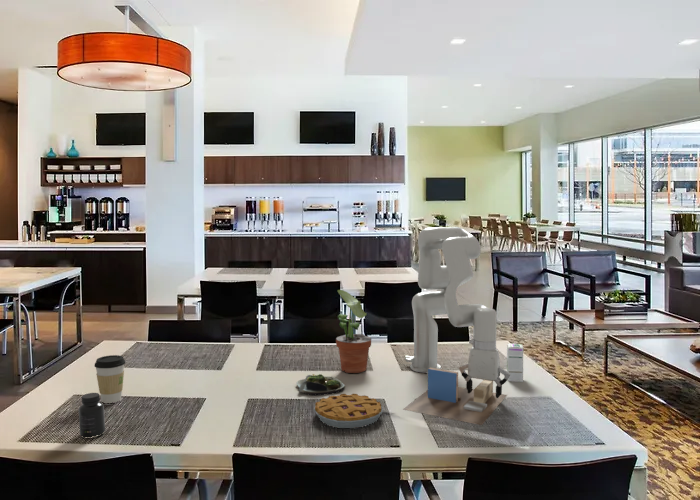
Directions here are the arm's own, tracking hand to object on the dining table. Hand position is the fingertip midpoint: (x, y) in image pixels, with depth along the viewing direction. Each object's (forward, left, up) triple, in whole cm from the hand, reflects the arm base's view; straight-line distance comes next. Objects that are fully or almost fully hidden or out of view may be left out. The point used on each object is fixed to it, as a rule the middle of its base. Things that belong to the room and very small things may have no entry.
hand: (483, 394), depth 191 cm
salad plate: (-57, -14, -4) cm, 59 cm away
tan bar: (0, -3, -2) cm, 3 cm away
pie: (-34, -33, -4) cm, 48 cm away
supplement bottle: (-93, -82, -3) cm, 124 cm away
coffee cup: (-112, -61, -3) cm, 128 cm away
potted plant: (-56, +10, -3) cm, 57 cm away
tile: (-12, -6, -2) cm, 14 cm away
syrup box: (+4, +27, -3) cm, 28 cm away
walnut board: (-7, -7, -3) cm, 10 cm away
